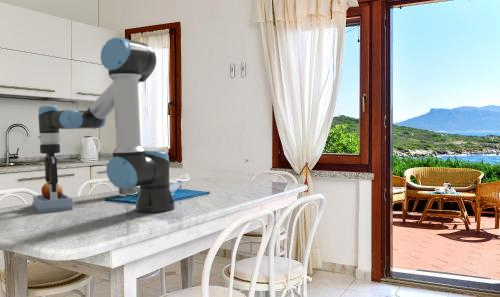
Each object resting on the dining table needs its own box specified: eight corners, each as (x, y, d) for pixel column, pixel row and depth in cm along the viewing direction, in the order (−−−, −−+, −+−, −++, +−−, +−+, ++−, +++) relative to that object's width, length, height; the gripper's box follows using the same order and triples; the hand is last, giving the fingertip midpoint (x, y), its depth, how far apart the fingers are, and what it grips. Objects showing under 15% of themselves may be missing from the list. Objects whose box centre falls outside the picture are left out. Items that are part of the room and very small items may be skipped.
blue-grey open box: (62, 202, 197) (61, 192, 196) (72, 209, 178) (72, 198, 178) (32, 205, 190) (32, 194, 190) (40, 213, 172) (39, 201, 171)
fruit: (48, 193, 188) (55, 177, 187) (61, 203, 186) (68, 187, 185) (33, 196, 181) (40, 180, 179) (46, 207, 179) (54, 190, 177)
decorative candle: (114, 196, 211) (112, 143, 209) (125, 193, 220) (123, 142, 218) (130, 196, 208) (128, 143, 207) (141, 193, 217) (139, 142, 215)
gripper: (36, 143, 188) (38, 196, 189) (43, 144, 171) (46, 203, 172) (55, 142, 192) (57, 194, 193) (64, 144, 175) (66, 200, 176)
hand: (52, 198), depth 183 cm, fingers closed on fruit, 8 cm apart
